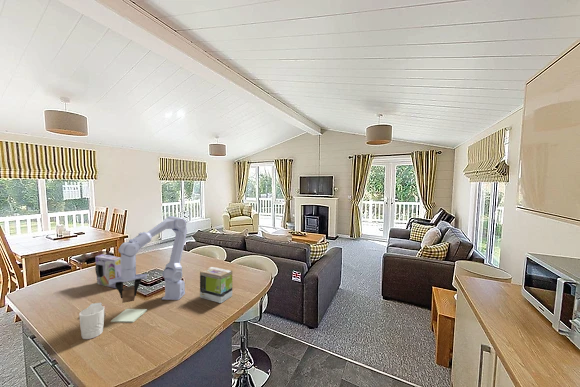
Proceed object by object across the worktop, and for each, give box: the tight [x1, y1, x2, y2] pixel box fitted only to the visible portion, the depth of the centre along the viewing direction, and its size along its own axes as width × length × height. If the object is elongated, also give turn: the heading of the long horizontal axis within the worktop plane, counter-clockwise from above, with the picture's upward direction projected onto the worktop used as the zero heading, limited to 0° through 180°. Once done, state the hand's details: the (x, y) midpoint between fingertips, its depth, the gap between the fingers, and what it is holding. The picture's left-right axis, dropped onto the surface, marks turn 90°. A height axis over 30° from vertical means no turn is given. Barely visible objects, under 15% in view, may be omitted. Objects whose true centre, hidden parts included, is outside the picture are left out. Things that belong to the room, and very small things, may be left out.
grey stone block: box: [87, 302, 102, 308], centre depth 112 cm, size 4×4×4 cm
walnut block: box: [121, 285, 136, 304], centre depth 110 cm, size 4×4×6 cm
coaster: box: [110, 308, 148, 324], centre depth 110 cm, size 10×10×1 cm
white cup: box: [78, 305, 105, 340], centre depth 96 cm, size 8×8×10 cm
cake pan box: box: [94, 254, 121, 289], centre depth 141 cm, size 19×5×18 cm, turn 68°
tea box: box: [199, 266, 233, 304], centre depth 129 cm, size 15×10×15 cm, turn 65°
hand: (128, 296), depth 110 cm, fingers closed on walnut block, 4 cm apart
